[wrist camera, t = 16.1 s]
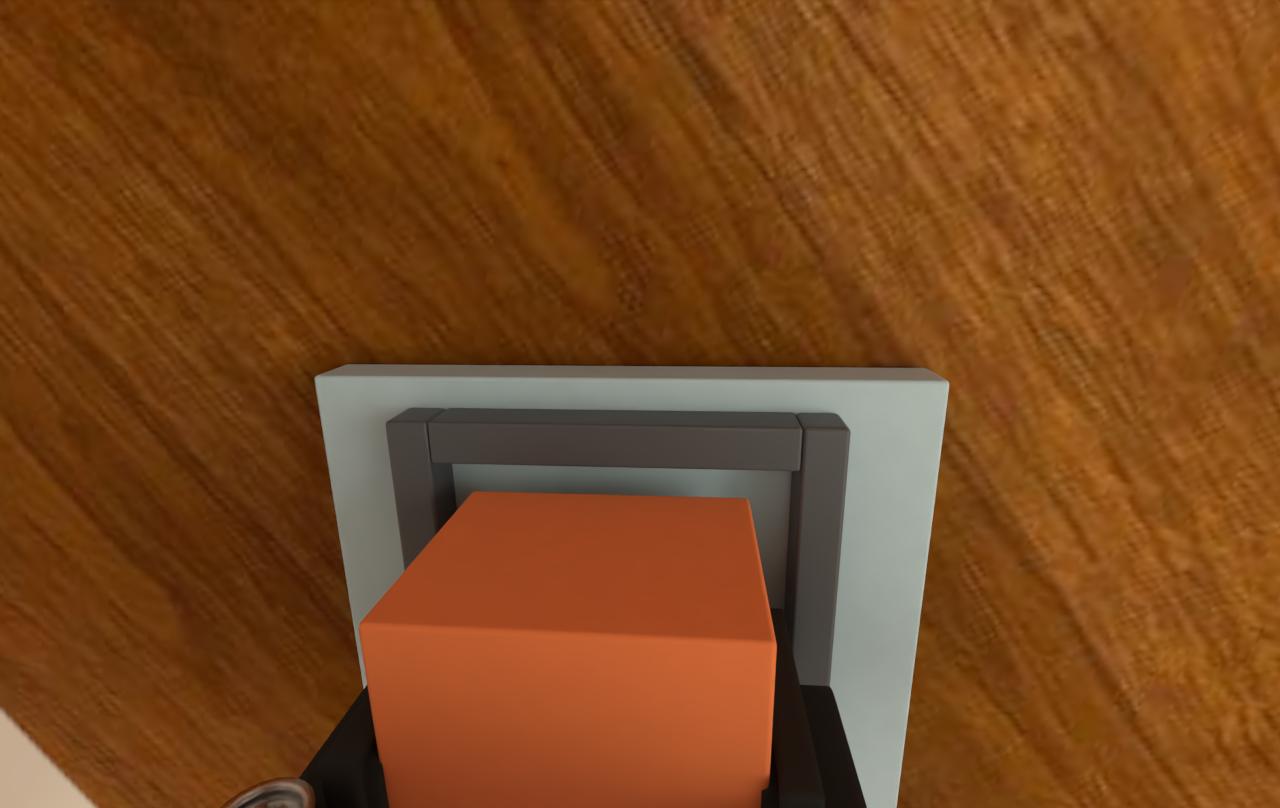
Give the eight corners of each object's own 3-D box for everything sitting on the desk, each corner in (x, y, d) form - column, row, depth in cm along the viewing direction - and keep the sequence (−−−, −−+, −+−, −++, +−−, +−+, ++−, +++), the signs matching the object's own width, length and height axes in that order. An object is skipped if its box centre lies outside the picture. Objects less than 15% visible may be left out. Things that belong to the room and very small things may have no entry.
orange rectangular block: (501, 792, 13) (419, 1025, 9) (472, 489, 11) (353, 625, 7) (737, 808, 13) (755, 1061, 9) (749, 496, 11) (778, 643, 7)
